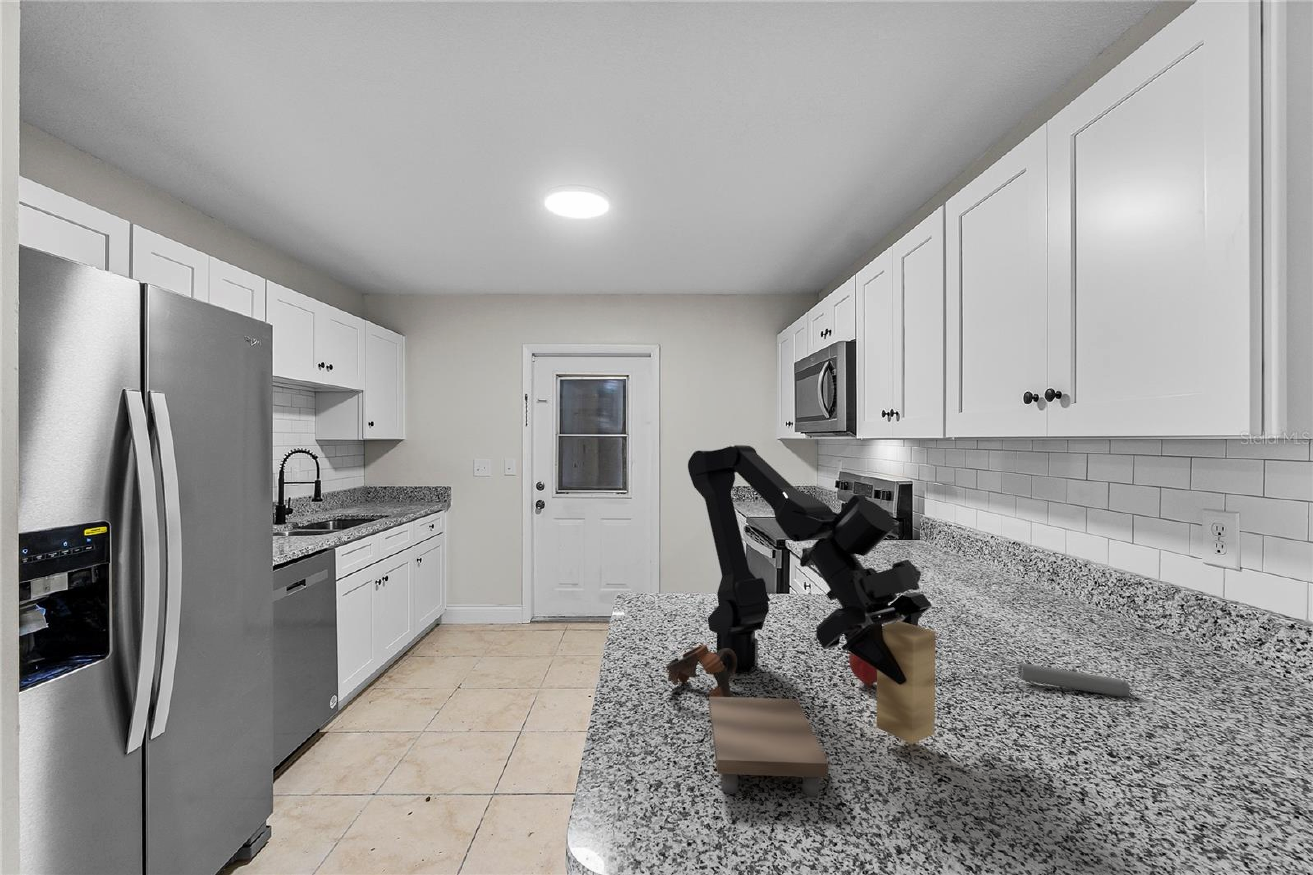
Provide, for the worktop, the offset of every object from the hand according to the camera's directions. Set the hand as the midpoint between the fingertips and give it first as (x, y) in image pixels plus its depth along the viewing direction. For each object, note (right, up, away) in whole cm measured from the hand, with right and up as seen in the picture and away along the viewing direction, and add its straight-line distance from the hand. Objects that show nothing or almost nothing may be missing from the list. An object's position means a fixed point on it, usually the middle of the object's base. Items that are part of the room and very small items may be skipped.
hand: (915, 678), depth 72 cm
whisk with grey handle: (+27, -11, +23) cm, 37 cm away
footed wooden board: (-20, -9, -3) cm, 22 cm away
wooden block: (-1, -7, +1) cm, 7 cm away
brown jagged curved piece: (-25, -10, +17) cm, 32 cm away
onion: (+1, -10, +20) cm, 23 cm away
